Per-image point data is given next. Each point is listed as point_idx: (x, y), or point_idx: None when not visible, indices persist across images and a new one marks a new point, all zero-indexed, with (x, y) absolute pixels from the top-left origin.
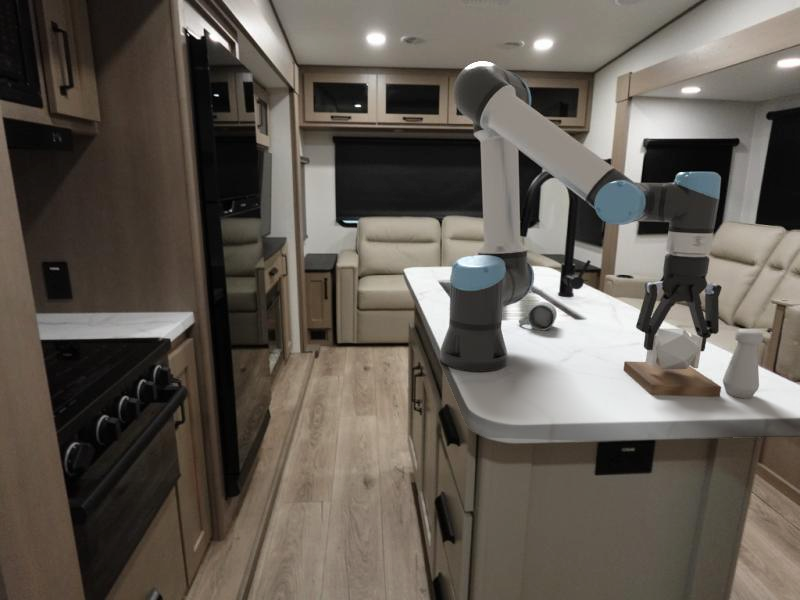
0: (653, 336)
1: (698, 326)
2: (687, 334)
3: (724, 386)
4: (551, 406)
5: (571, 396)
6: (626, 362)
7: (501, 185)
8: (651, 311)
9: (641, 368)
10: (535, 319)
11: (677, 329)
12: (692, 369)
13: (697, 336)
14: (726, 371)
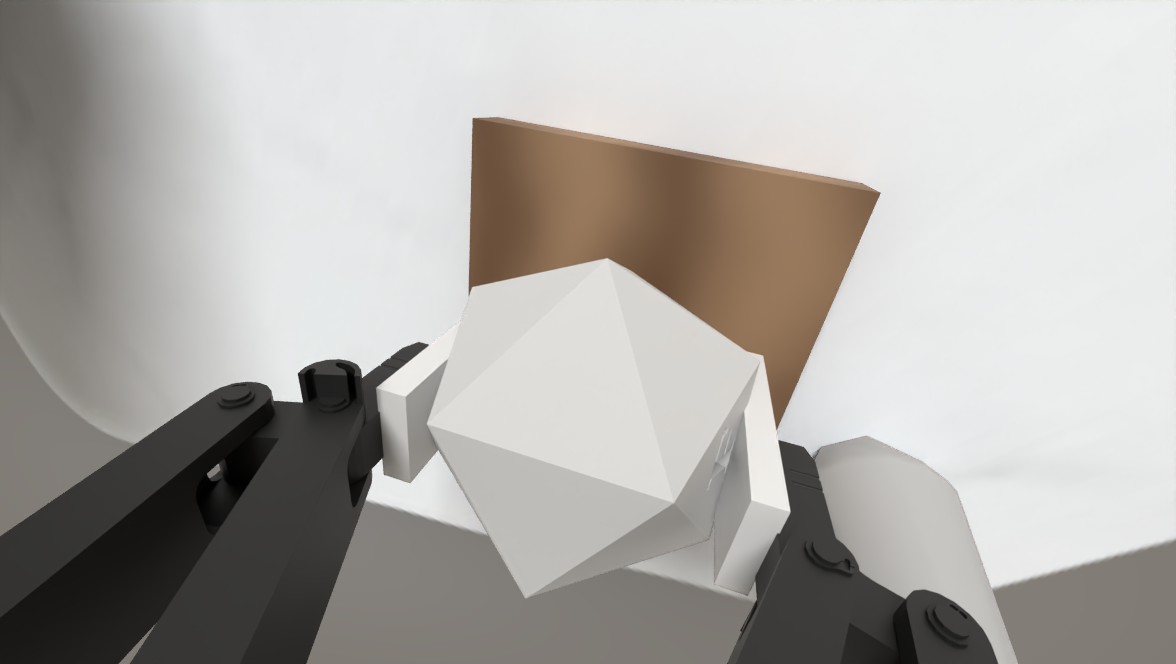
0: (383, 448)
1: (731, 658)
2: (650, 536)
3: (816, 460)
4: (188, 395)
5: (236, 352)
6: (476, 138)
7: None
8: (104, 659)
9: (514, 247)
10: None
11: (586, 498)
12: (813, 307)
13: (723, 568)
14: (832, 517)
